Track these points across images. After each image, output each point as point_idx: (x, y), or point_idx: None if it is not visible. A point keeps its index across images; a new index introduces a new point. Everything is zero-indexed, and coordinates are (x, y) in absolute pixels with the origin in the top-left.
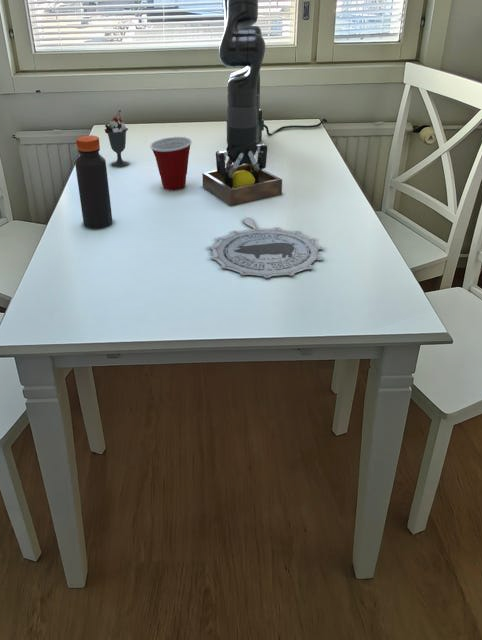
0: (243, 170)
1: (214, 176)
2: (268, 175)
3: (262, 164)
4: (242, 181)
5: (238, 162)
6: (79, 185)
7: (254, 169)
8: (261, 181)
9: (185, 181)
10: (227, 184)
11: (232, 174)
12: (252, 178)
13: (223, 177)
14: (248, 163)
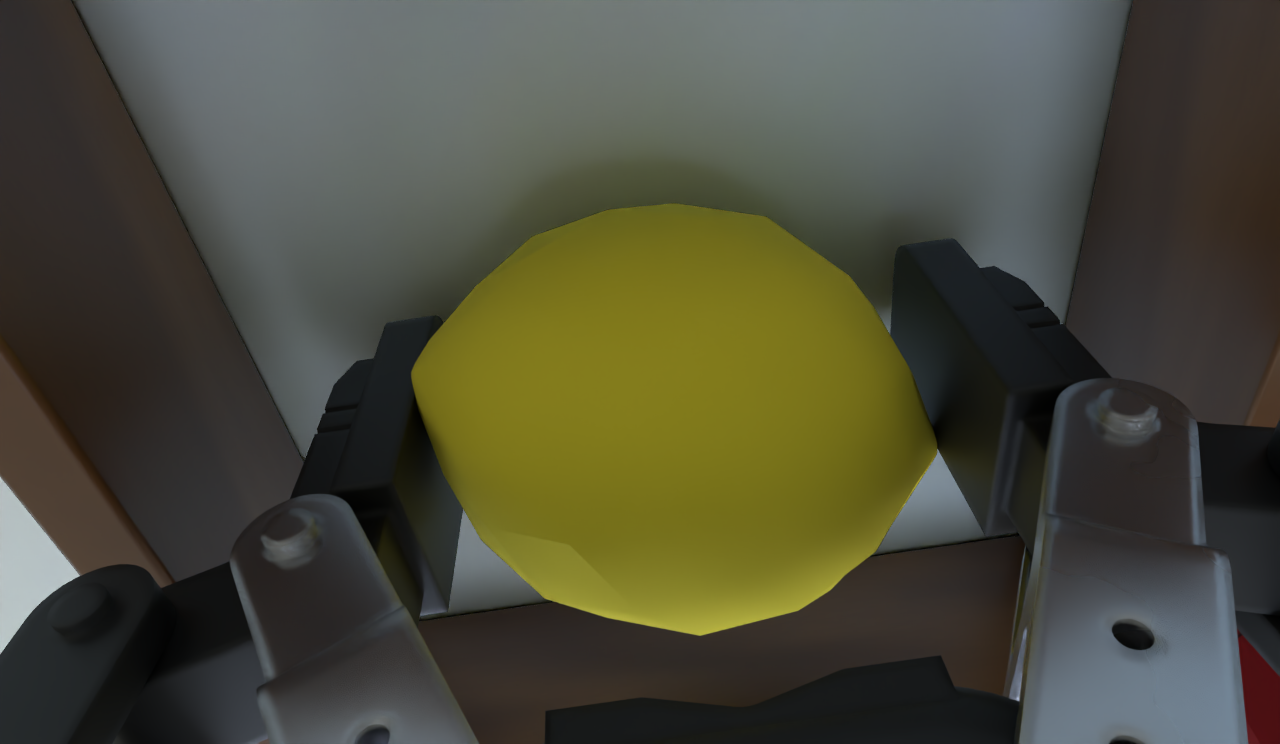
0: (660, 587)
1: (974, 666)
2: (55, 379)
3: (100, 666)
4: (778, 276)
5: (1075, 726)
6: None
7: (380, 565)
8: (260, 450)
9: (1244, 676)
10: (1048, 325)
11: (1066, 439)
12: (496, 341)
13: (812, 650)
14: (568, 709)
